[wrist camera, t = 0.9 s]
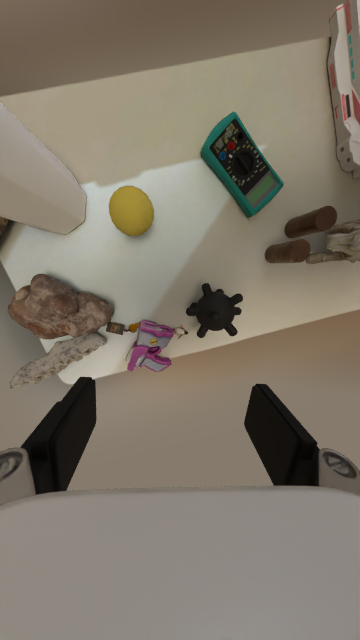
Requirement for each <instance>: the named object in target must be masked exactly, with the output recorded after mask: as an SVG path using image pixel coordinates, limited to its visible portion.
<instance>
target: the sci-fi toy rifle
mask: <svg viewBox="0 0 360 640" xmlns="http://www.w3.org/2000/svg"><path fill="white" fill-rule="evenodd" d="M329 22H330V31H331V40H332V42H331V47H330V52H329V57H328V62H327V64H328V72H329V80H330V87H331V95H332V103H333V111H334V119H335V127H336V135H337V143H338V146H337V148H336V151H337V159H338V160H339V161H340V167H341V169H343V170H344V171H345V172H350V171H352V170H353V177H354V179H355V178H358V177H360V0H345V1H344V3H343V4H341V5H339V6H337V7H336V8H335V10H334V11H333V13H332V14H331V16H330V17H329Z"/></svg>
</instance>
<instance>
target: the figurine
mask: <svg viewBox="0 0 360 640" xmlns="http://www.w3.org/2000/svg"><path fill="white" fill-rule="evenodd" d="M327 234H328V236H327V242H326V249H328V250H331V251H335V252H333V253H320V254H311V255H309V256H308V257H307V258H306V262H307V263H309V264H315V263H319V262H326V261H336V260H349V261H350V262H351V263H354V262H356V261H360V220H357V221H352V222H348V223H344V224H340V225H333V227H331V228H330V229H329V230H327Z"/></svg>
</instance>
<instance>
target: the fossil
mask: <svg viewBox="0 0 360 640" xmlns="http://www.w3.org/2000/svg"><path fill="white" fill-rule="evenodd" d="M106 343H107V342H106V340H105V338H104V337H101V336H99V335H98V334H95V333H91V334H89V335H87V334H83V335H82V336H80V337H75V338H73V339H71V340H68V341H66V342H56V343H55V345H54V347H53V348H52V349H51V351H50V352H49V353H48V354H47V355H45V356H44V357H42V358H40V359H37V360H35V361H33V362H30V363H29V364H26V365H25V366H24V367H22V368H21V369H20V370H18V372H17V373H16V375H15V376H14V377H13V379H12V380H11V381H10V388H13V387H17V386H21V385H24V384H27V383H29V382H33V383H39V382H40V381H41V379H42V378H44V379H48V378H50V377H51V376H53V375H54V374H56V373H59V372H60V371H61V370H62V368H63V369H65V368H66V367H67V366H68V364H70V363H72V362H73V361H79V360H81V359H82V358H83V356H86V355H88V354H90V353H91V352H92V351H93V350H94V351H95V350H97V348H98V347H99V346H102V345H105V344H106Z"/></svg>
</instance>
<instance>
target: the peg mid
mask: <svg viewBox="0 0 360 640" xmlns="http://www.w3.org/2000/svg"><path fill="white" fill-rule="evenodd" d="M309 254H310V244H309V243H308V242H307V241H306V240H303V239H301V240H296V241H291V242H286V243H281V244H276V245H272V246H270V247H269V248H268V249H267V250H266V253H265V258H266V260H267V261H268V262H269V263H295V262H302V261H304V260H305V259H306V258H307V257H308V256H309Z"/></svg>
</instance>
